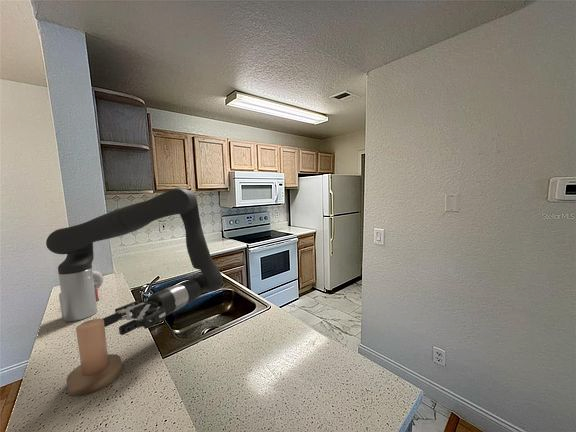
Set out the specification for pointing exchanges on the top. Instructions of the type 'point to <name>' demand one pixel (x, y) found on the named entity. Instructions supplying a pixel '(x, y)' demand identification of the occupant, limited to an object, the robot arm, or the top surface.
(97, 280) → the donut
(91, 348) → the tan rounded post
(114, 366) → the brown disc
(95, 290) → the lighter
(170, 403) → the top surface
